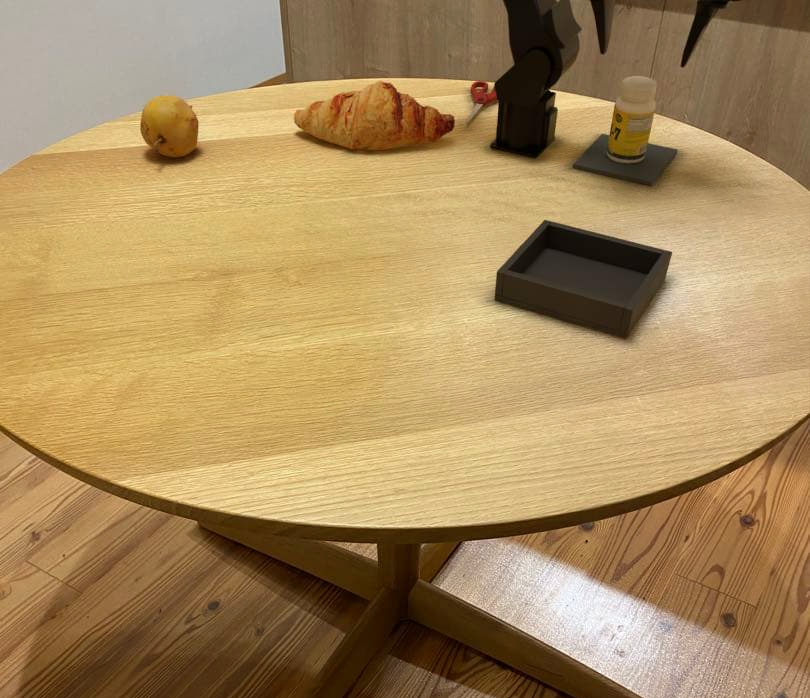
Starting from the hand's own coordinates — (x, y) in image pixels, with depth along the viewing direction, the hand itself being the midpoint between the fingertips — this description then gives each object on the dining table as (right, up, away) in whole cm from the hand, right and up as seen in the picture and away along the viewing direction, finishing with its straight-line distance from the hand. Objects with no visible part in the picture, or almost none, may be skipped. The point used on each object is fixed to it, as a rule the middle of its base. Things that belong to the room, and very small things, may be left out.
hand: (642, 59), depth 89 cm
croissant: (-31, -1, +15) cm, 34 cm away
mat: (+1, -7, +9) cm, 12 cm away
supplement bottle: (+1, -7, +9) cm, 11 cm away
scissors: (-16, +6, +20) cm, 27 cm away
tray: (-9, -29, -10) cm, 32 cm away
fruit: (-56, -5, +12) cm, 58 cm away
